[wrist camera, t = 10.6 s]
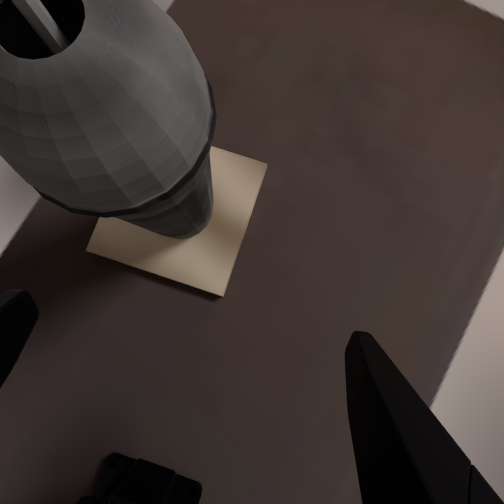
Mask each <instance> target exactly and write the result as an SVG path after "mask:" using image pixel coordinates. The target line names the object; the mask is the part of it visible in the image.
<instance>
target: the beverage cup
mask: <svg viewBox="0 0 504 504" xmlns="http://www.w3.org/2000/svg"><path fill="white" fill-rule="evenodd" d="M216 118H217V115H216V109H215V103H214V96H213V90H212V86H211V85H210V83H209V81H208V79H207V77H206V75H205V74H204V72H203V69H202V67H201V66H200V64H199V62H198V60H197V58H196V56H195V54H194V53H193V51H192V49H191V47H190V45H189V43H188V42H187V40H186V38H185V36H184V34H183V32H182V30H181V29H180V28H179V27H178V26H177V24H176V23H175V22H174V21H173V20H172V18H171V17H170V16H168V15H167V14H166V13H165V12H164V11H163V10H162V9H161V8H160V7H159V6H158V5H156V4H155V3H154V2H153V1H152V0H0V155H1V156H2V157H3V158H4V159H5V161H6V162H7V163H8V164H9V165H10V166H11V167H12V168H13V169H14V170H15V171H16V172H17V173H18V174H19V175H20V176H21V177H22V178H23V179H24V180H25V181H26V182H27V183H29V184H30V185H32V186H33V187H34V188H35V189H36V190H37V191H38V193H39V194H40V195H41V196H42V197H43V198H45V199H47V200H49V201H51V202H52V203H54V204H56V205H58V206H60V207H62V208H64V209H66V210H68V211H70V212H72V213H77V214H83V215H90V216H96V217H103V218H110V217H114V218H118V219H121V220H123V221H126V222H129V223H131V224H134V225H136V226H139V227H142V228H144V229H147V230H149V231H152V232H154V233H157V234H160V235H162V236H167V237H170V238H176V239H185V238H191V237H193V236H195V235H197V234H199V233H200V232H201V231H202V230H203V229H204V228H205V227H206V226H207V225H208V223H209V221H210V219H211V217H212V212H213V202H214V199H213V188H212V176H211V164H210V149H211V146H212V140H213V135H214V129H215V124H216Z"/></svg>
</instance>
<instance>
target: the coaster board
mask: <svg viewBox="0 0 504 504" xmlns="http://www.w3.org/2000/svg"><path fill="white" fill-rule="evenodd" d="M210 164H211V176H212V188H213V199H214V202H213V212H212V217H211V219H210V221H209V223H208V225H207V226H206V227H205V228H204V229H203V230H202V231H201V232H200V233H199V234H197V235H195V236H193V237H191V238H185V239H176V238H170V237H167V236H162V235H160V234H157V233H154V232H152V231H149V230H147V229H144V228H142V227H139V226H136V225H134V224H131V223H129V222H126V221H123V220H121V219H118V218H114V217H110V218H103V217H99V219H98V222H97V224H96V227H95V229H94V232H93V234H92V237H91V239H90V242H89V244H88V246H87V249H86V251H88V252H91V253H94V254H97V255H100V256H103V257H106V258H109V259H112V260H115V261H118V262H121V263H124V264H127V265H130V266H133V267H136V268H139V269H142V270H145V271H148V272H151V273H154V274H157V275H160V276H163V277H166V278H169V279H172V280H175V281H178V282H181V283H184V284H187V285H190V286H193V287H196V288H199V289H202V290H205V291H208V292H211V293H214V294H217V295H220V296H224V293H225V290H226V287H227V284H228V281H229V279H230V276H231V273H232V270H233V267H234V264H235V261H236V258H237V255H238V252H239V249H240V246H241V243H242V240H243V237H244V234H245V231H246V228H247V225H248V222H249V219H250V217H251V214H252V211H253V208H254V205H255V202H256V199H257V196H258V193H259V190H260V187H261V184H262V181H263V178H264V175H265V172H266V169H267V164H266V163H263V162H260V161H257V160H253V159H250V158H247V157H244V156H241V155H238V154H235V153H231V152H228V151H225V150H222V149H219V148H216V147H212V146H211V149H210Z"/></svg>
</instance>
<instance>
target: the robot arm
mask: <svg viewBox="0 0 504 504" xmlns="http://www.w3.org/2000/svg"><path fill="white" fill-rule="evenodd" d="M38 317H39V310H38V307H37V305H36V303H35V301H34V299H33V297H32V295H31V293H30V292H29V291H26V290H19V289H12V290H9V291H7V292H5V293H3V294H1V295H0V388H1V386H2V385H3V383H4V382H5V380H6V379H7V377H8V375H9V374H10V372H11V370H12V369H13V367H14V365H15V363H16V361H17V359H18V357H19V355H20V353H21V351H22V349H23V347H24V345H25V343H26V341H27V339H28V338H29V336H30V334H31V332H32V330H33V328H34V326H35V324H36V322H37V320H38ZM345 373H346V392H347V409H348V418H349V424H350V430H351V436H352V442H353V449H354V455H355V461H356V467H357V473H358V479H359V485H360V491H361V497H362V504H504V502H503V501H502V500H501V499H500V498H499V496H498V495H497V494H496V493H495V491H494V490H493V489H492V488H491V486H490V485H489V484H488V483H487V481H486V480H485V479H484V478H483V476H482V475H481V474H480V472H479V471H478V470H477V469H476V467H475V466H474V465H471V461H470V460H469V459H468V457H467V456H466V455H465V453H464V452H463V451H462V450H461V448H460V447H459V446H458V445H457V443H456V442H455V441H454V439H453V438H452V437H451V436H450V434H449V433H448V432H447V431H446V429H445V428H444V427H443V426H442V424H441V423H440V422H439V420H438V419H437V418H436V417H435V415H434V414H433V413H432V411H431V410H430V409H429V408H428V406H427V405H426V404H425V402H424V401H423V400H422V399H421V397H420V396H419V395H418V394H417V392H416V391H415V390H414V388H413V387H412V386H411V385H410V383H409V382H408V381H407V380H406V378H405V377H404V376H403V374H402V373H401V372H400V371H399V369H398V368H397V367H396V366H395V364H394V363H393V362H392V360H391V359H390V358H389V357H388V355H387V354H386V353H385V352H384V350H383V349H382V348H381V346H380V345H379V344H378V343H377V341H376V340H375V339H374V338H373V336H372V335H371V334H370V333H368V332H363V331H354V332H353V333H352V335H351V337H350V340H349V342H348V344H347V347H346V349H345ZM111 460H114V461H116V465H113V464H112V463H111ZM191 489H196V490H197V493H196V494H193V493H192V492H191ZM201 493H202V485H201V484H200V483H199V482H197V481H195V480H192V479H189V478H186V477H184V476H181V475H178V474H176V473H175V471H174V470H171V469H168V468H166V467H163V466H160V465H157V464H154V463H152V462H149V461H146V460H143V459H138V460H136V459H133V458H130V457H127V456H124V455H122V454H119V453H112V454H111V455H109V457H108V458H107V459H106V461H105V463H104V465H103V468H102V471H101V474H100V476H99V479H98V482H97V485H96V487H95V490H94V493H93V496H86V497H81V498H80V500H79V501H78V502H77V503H76V504H198V503H199V500H200V497H201Z"/></svg>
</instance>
